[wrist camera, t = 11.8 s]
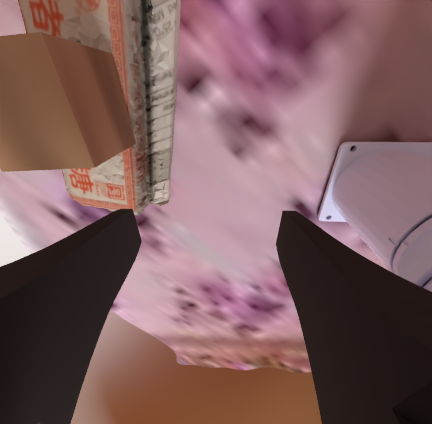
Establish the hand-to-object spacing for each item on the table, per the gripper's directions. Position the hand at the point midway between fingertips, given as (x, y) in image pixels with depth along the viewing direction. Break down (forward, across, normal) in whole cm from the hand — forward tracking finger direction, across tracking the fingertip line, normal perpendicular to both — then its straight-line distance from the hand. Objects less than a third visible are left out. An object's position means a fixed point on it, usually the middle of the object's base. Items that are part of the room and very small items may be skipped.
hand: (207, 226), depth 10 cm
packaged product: (+11, +8, -5) cm, 15 cm away
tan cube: (+6, +8, -5) cm, 11 cm away
